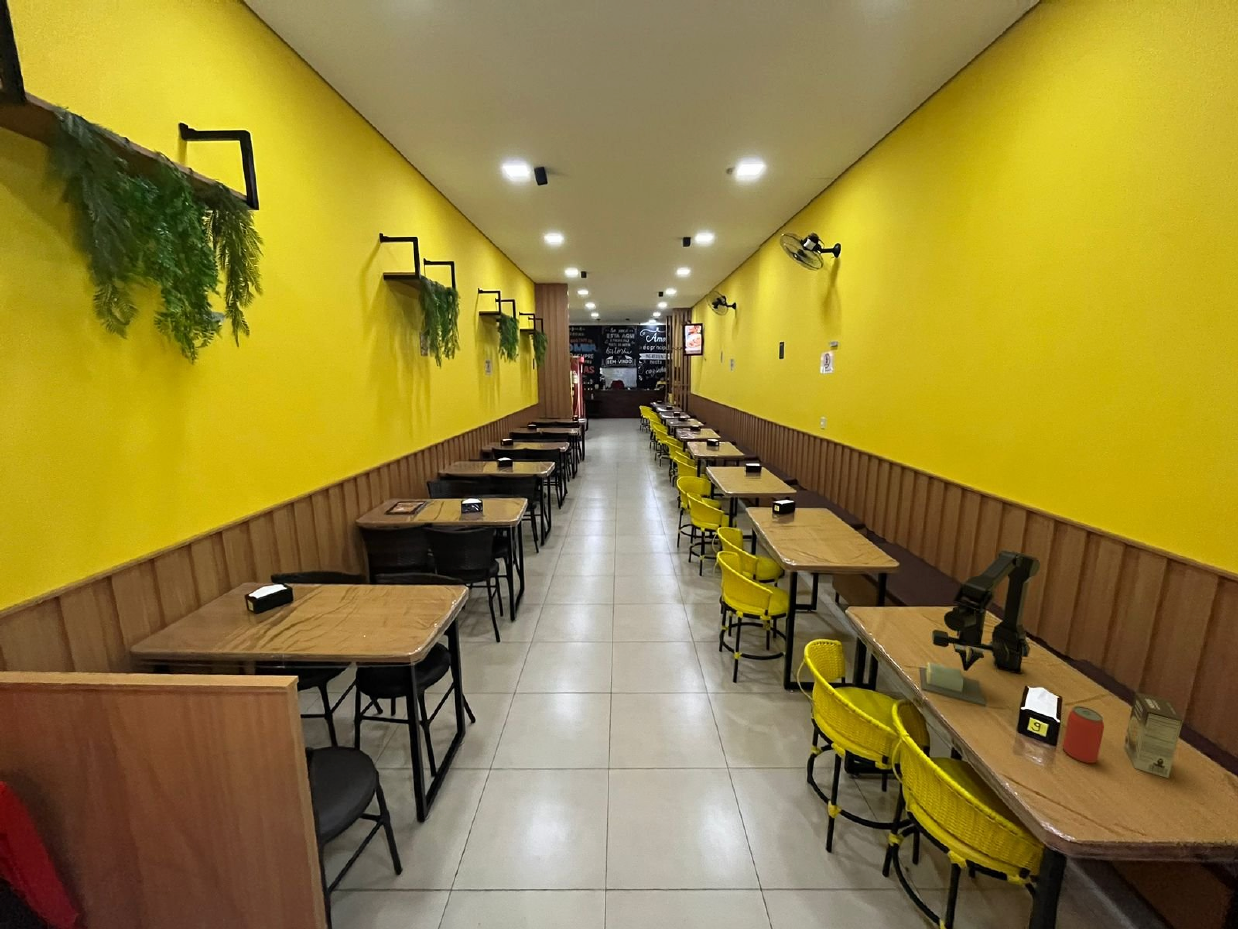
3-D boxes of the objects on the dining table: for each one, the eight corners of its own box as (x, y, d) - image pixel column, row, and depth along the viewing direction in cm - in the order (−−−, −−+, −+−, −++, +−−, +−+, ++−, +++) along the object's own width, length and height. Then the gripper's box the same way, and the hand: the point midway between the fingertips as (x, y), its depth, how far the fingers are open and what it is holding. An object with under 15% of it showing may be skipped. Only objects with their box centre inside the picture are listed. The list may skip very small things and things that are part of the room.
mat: (978, 682, 156) (978, 681, 156) (985, 706, 145) (985, 704, 145) (919, 668, 164) (919, 666, 164) (922, 689, 153) (922, 688, 152)
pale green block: (960, 670, 155) (927, 662, 159) (963, 680, 150) (928, 671, 154) (959, 681, 156) (925, 673, 160) (961, 692, 151) (927, 683, 155)
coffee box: (1121, 745, 130) (1134, 690, 127) (1156, 755, 127) (1169, 699, 124) (1133, 768, 123) (1146, 710, 120) (1170, 779, 119) (1185, 720, 116)
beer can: (1090, 750, 128) (1098, 709, 126) (1101, 768, 123) (1111, 725, 120) (1058, 742, 131) (1065, 701, 129) (1067, 759, 125) (1076, 717, 123)
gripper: (1005, 619, 152) (997, 665, 155) (933, 605, 160) (927, 649, 163) (1013, 635, 142) (1004, 684, 145) (936, 619, 151) (930, 666, 154)
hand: (965, 670), depth 152 cm, fingers closed
